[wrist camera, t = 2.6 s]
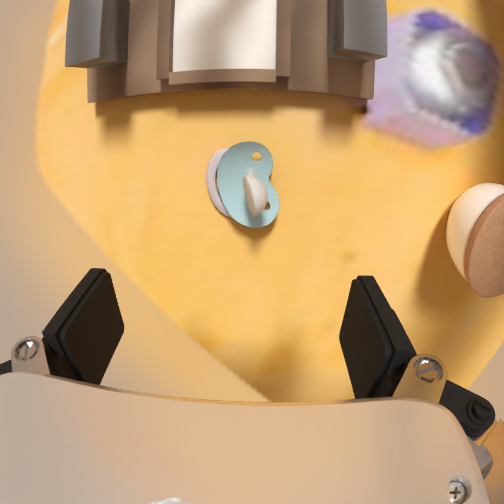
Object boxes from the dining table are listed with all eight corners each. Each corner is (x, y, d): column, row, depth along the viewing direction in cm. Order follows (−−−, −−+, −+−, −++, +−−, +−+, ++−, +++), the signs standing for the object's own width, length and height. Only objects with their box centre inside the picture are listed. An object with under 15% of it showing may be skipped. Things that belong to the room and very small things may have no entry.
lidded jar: (446, 158, 24) (506, 188, 16) (509, 182, 24) (562, 214, 16) (417, 254, 29) (459, 307, 21) (481, 263, 29) (522, 308, 21)
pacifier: (217, 223, 28) (281, 214, 28) (204, 256, 23) (284, 245, 22) (200, 147, 25) (268, 134, 24) (179, 161, 20) (268, 145, 19)
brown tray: (367, -19, 16) (394, -44, 11) (367, 99, 22) (398, 101, 16) (100, -11, 17) (64, -29, 11) (95, 102, 22) (55, 107, 17)
